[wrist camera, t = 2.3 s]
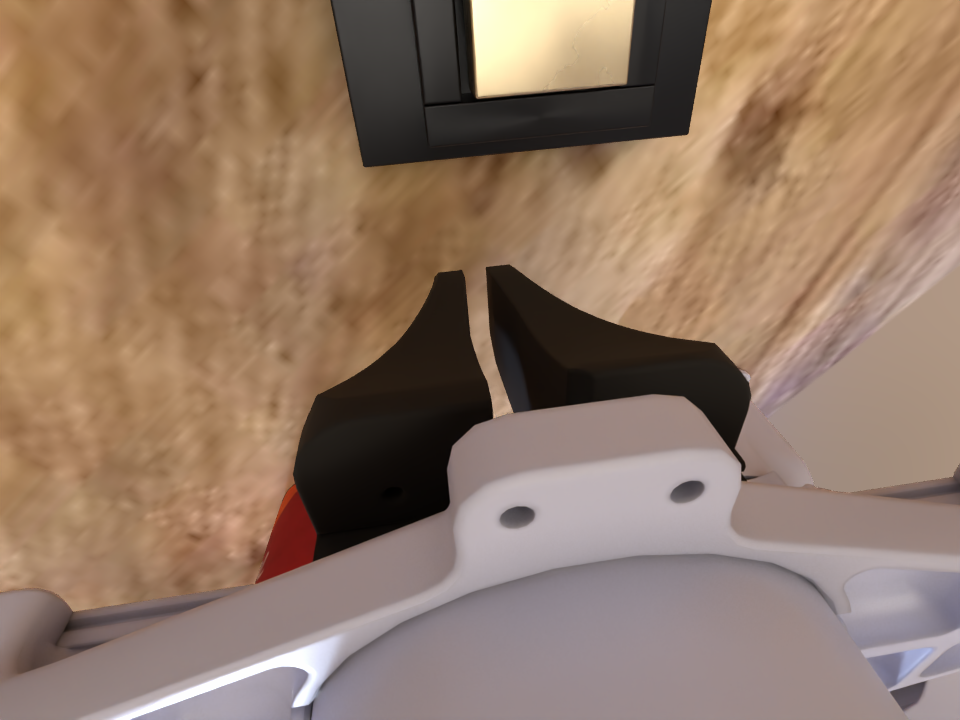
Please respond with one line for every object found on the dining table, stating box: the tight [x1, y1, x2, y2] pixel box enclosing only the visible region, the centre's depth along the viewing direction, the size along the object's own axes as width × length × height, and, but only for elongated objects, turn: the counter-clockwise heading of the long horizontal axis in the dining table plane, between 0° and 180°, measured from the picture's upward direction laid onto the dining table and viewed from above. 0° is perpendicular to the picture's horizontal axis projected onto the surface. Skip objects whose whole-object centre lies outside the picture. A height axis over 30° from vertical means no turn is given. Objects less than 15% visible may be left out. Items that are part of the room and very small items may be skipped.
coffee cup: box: [255, 485, 317, 584], centre depth 25 cm, size 8×8×15 cm
